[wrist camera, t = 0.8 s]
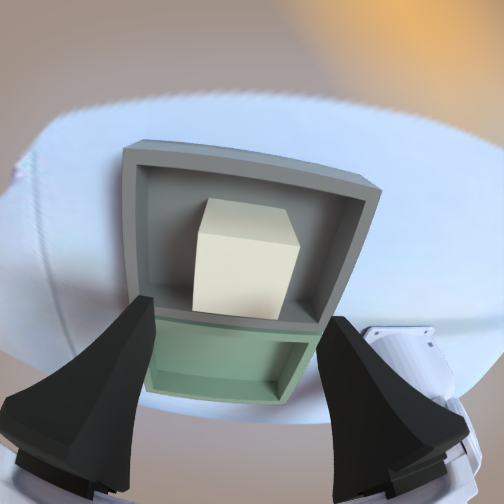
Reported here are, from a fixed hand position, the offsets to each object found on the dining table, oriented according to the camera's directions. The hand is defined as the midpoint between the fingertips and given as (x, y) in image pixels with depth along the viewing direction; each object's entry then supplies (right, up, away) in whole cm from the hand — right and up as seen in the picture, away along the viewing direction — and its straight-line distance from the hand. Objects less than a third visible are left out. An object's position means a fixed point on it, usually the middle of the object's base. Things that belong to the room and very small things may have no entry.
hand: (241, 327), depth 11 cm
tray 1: (0, +4, +7) cm, 8 cm away
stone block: (0, +4, +7) cm, 8 cm away
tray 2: (-2, -5, +13) cm, 14 cm away
